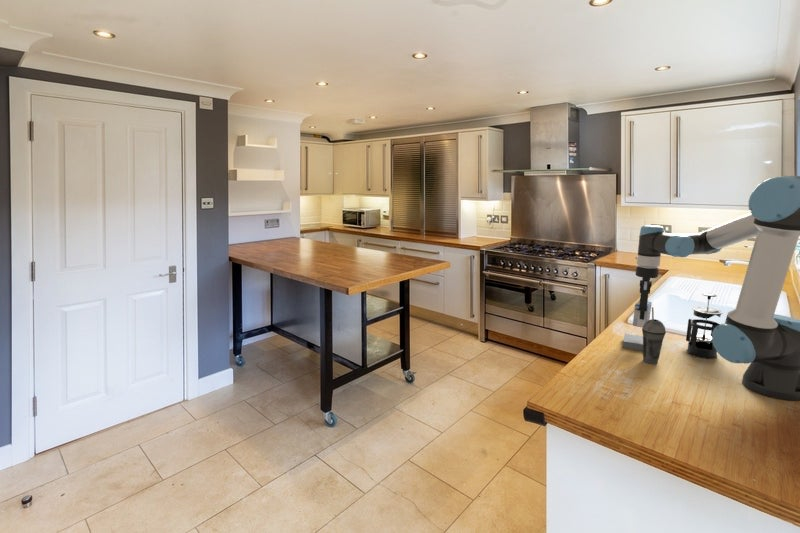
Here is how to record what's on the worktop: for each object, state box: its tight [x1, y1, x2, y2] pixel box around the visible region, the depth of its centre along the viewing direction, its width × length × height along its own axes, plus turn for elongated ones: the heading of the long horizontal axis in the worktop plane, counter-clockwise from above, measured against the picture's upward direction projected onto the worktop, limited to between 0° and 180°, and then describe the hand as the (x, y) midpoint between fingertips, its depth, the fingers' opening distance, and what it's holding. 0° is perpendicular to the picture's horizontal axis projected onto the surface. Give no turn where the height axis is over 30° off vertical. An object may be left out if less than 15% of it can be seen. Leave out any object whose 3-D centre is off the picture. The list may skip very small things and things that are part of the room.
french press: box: [685, 292, 724, 360], centre depth 159 cm, size 12×9×23 cm
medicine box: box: [632, 299, 652, 327], centre depth 166 cm, size 8×4×9 cm, turn 141°
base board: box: [622, 333, 643, 352], centre depth 168 cm, size 10×11×3 cm
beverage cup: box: [641, 306, 667, 365], centre depth 152 cm, size 7×7×20 cm
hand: (641, 323), depth 167 cm, fingers closed on medicine box, 8 cm apart
